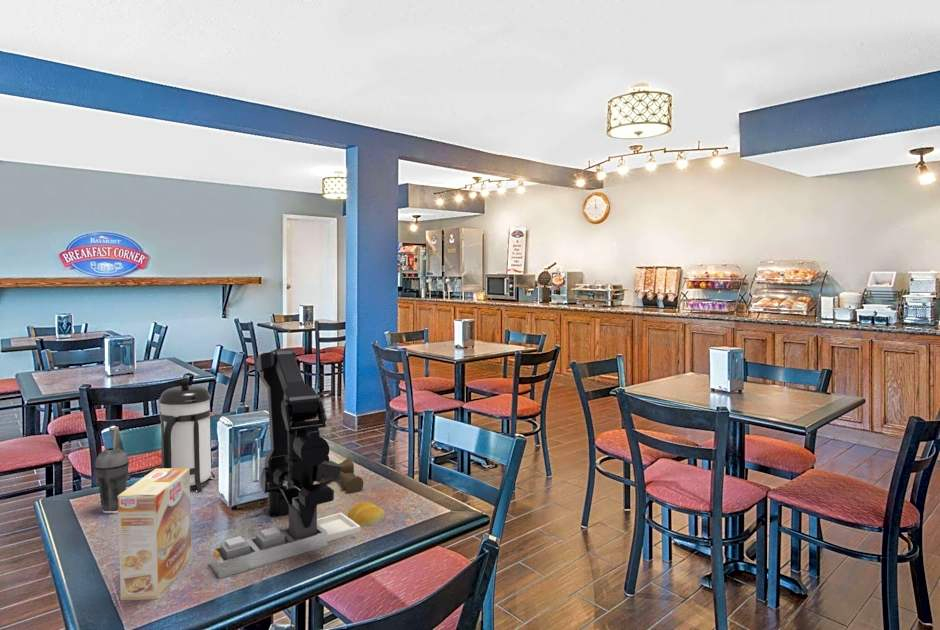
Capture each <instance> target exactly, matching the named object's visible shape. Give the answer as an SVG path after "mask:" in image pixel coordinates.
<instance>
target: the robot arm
mask: <svg viewBox="0 0 940 630" xmlns="http://www.w3.org/2000/svg"><path fill="white" fill-rule="evenodd" d="M296 354H297V353H296V351H295V349H293V348H276V349H275V348H274V349H273V350H271V351H269V352H268V351H267V352H262V353H261V354H259V355H258V357H257V358H256V369H257V372H259V379H260V381H261V382H262V383H263V385H264V386H265V388H266V389H267V402H268V420H269V422H268V423H269V437H270V438H269V439H270V449H269V451H268V453H267V455H266V457H265V458H264V467H263V468H262V471H261V474H260V478H259V481H260V484H259V485H260V488H261V490H262V492H263V493H264V494H267V503H268V504H267V506H268V507H265V508H262V509H263V511H264V512H265V513H266V514H268V516H270V517H271V518H275V517H276V518H277V517H282V516H285V515H289V505H291V504H292V498H294V497H298V499H294V501H295V504H296V506H297V509H298V512H299V515H300V517H301V520H302V523H303V525H304V527H305V528H308V527H310V525H311V522H312V519H313V515H314V512H315V509H316V507H317V508H318V505H321V504H325V503H330V502H333V501H334V499H335V490H334V489H333V488H332V487H330V486H329V485H327V484H326V483H320V482H319V481H322V478H327V479H329V480H333V481H334V482H335V481H336V482H338V481H339V480H340V478H339V477H340V473H341V470H342V466H341V465H339V464H340V463H337V462H335V461H333V460H330V456H329V454H330V446H329V443H328V441H327V440H326V439H324V438H323V436H322V435H321V433H320V430H319V429H323V428H326V427H327V425H326V424H327V423H326V422H327V420H328V418H327V414H326V410H325V408H324V407H325V406H324V403H323V402H322V399H321V397H320V396H318V393H317V392H316V391H315V388H314V387H312V386H310V385H308V384H306V383H305V379H304V378H303V376H302V373H301V370H300V368H299V365H298V361H297V356H296ZM315 482H319V483H316V484H315Z"/></svg>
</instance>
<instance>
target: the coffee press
mask: <svg viewBox="0 0 940 630" xmlns="http://www.w3.org/2000/svg"><path fill="white" fill-rule="evenodd" d="M179 382H180V385H179V386H173V387H170V388H168V389H166V390H164V391H162V393H161V395H160V397H158V403H159V404H160V412H159V420H160V429H161V430H160V434H161V435H160V436H161V439H160V440H161V443H160V444H161V468H190V487H193V489H194V491H195V490H197V491H199V492H201V491H200V490H202V491H203V487H202V483H204V482H206V481H208V478H209V480H210V478H211V477H213V478H214V479H215V478H216V476H215V474H214V473H213V472H212V462H211V461H212V459H211V455H212V453H211V452H212V451H211V407H210V405H211V404H210V400H211V398H212V394H211V393H210V391H208V389H207V388H206V387H203V386H199V385H190V379H189V378H187V377H183V378H181V380H180V381H179Z"/></svg>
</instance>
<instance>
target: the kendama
mask: <svg viewBox="0 0 940 630" xmlns="http://www.w3.org/2000/svg"><path fill="white" fill-rule="evenodd" d="M338 464H339V465H341V466H342V470H341V473H340V477H339V480H340V486H341V488H343V489H345V492H346V493H347V494H353V493H357V492H361V491H362V490H363V489H364V480H363V478H362V477H361V476H359V475H356V474H355V467H354V462H353V461H352V459H351V458H346V459H344V460H343V461H342V462H340V463H338ZM329 480H330V479H327V478H322V481H319V483H324V484H326V483H327V482H328V481H329Z"/></svg>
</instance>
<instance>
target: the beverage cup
mask: <svg viewBox="0 0 940 630" xmlns="http://www.w3.org/2000/svg"><path fill="white" fill-rule="evenodd" d="M117 432H118V431H117V429H116V428H115V429H114V432H113V443H112V444H113V445H112V447H108V448H105V449H104V450H102V451H101V452H100V453H99V454H98V455H97V456H96V459H95V463H94V464H95V465H94V467H93V468H94V469H95V474H96V476H97V484H98V489H99V490H98V491H99V497H100V506H101V509H103V510H104V511H117V510H118V497H117V496H118V495H120V494H121V493H122V492H124V491H125V490H127V478H128V470H129V464H130V461H129V457H128V455H127V453H126V452H125V451H124V450H123V449H121V448H119V447H116V445H117ZM103 510H102V511H103Z"/></svg>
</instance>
